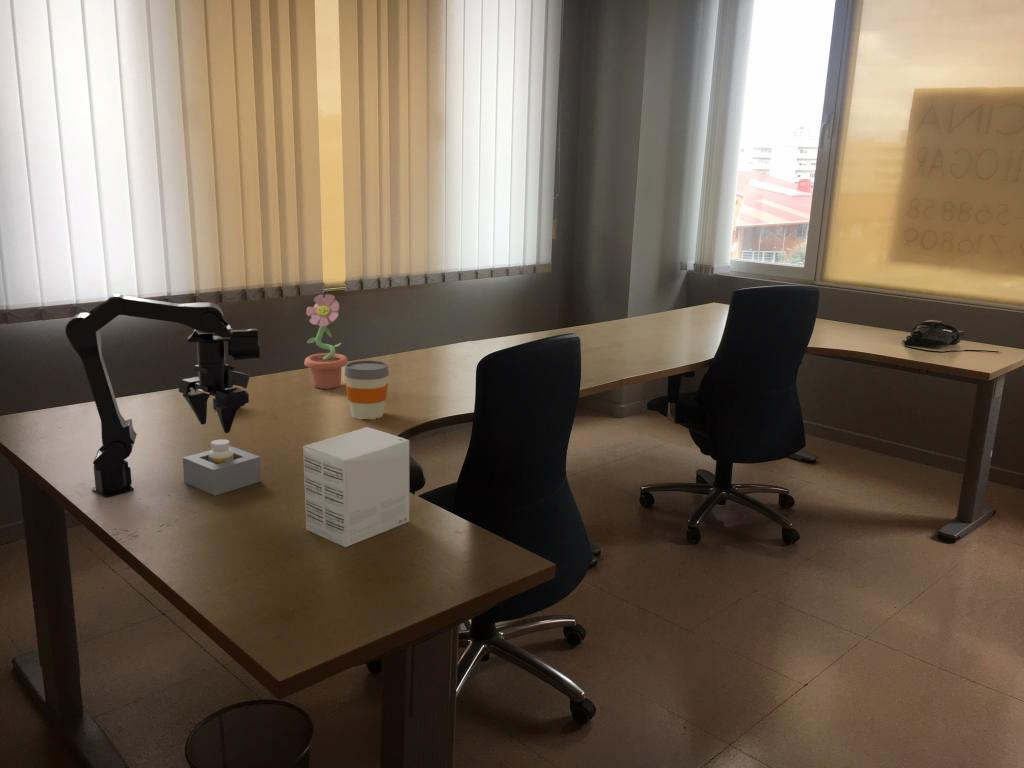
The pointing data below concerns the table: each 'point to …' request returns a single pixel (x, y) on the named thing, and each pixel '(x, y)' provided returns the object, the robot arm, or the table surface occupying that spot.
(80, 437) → the table surface
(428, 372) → the table surface
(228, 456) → the supplement bottle
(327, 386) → the decorative flower
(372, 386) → the reusable coffee cup
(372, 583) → the table surface
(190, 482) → the drop box
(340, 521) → the supplement box
